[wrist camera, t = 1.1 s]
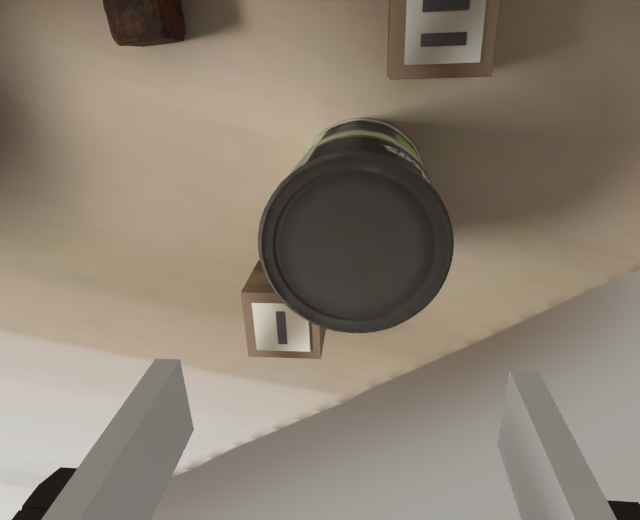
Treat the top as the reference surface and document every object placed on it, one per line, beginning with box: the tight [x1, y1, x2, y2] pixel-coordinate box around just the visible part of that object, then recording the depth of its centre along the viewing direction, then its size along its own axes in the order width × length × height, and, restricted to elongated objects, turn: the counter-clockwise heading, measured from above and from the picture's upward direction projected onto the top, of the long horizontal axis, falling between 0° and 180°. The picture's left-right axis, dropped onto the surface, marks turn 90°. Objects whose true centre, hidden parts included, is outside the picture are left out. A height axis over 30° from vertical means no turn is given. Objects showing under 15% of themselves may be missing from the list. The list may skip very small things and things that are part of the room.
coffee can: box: [258, 118, 454, 333], centre depth 30 cm, size 10×10×14 cm
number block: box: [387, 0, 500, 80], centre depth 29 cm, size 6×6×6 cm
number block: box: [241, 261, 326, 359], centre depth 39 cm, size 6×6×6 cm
